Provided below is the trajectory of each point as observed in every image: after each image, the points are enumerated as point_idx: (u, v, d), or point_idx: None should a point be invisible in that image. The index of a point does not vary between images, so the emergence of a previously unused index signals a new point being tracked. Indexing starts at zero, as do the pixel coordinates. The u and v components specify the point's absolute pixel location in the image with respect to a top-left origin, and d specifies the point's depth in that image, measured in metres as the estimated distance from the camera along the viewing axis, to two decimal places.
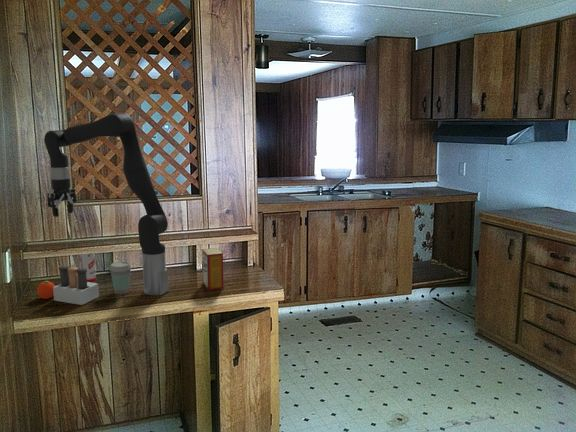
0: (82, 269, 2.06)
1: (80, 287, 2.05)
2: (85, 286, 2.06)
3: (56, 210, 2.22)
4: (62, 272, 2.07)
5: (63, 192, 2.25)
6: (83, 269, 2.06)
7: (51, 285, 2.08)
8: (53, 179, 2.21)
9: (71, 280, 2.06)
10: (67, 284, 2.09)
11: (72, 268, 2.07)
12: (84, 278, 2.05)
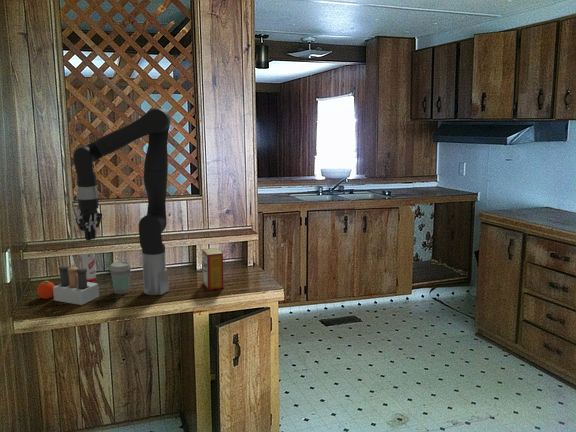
0: (82, 269, 2.06)
1: (80, 287, 2.05)
2: (85, 286, 2.06)
3: (89, 234, 2.09)
4: (62, 272, 2.07)
5: (90, 212, 2.08)
6: (83, 269, 2.06)
7: (51, 285, 2.08)
8: (80, 199, 2.04)
9: (71, 280, 2.06)
10: (67, 284, 2.09)
11: (72, 268, 2.07)
12: (84, 278, 2.05)
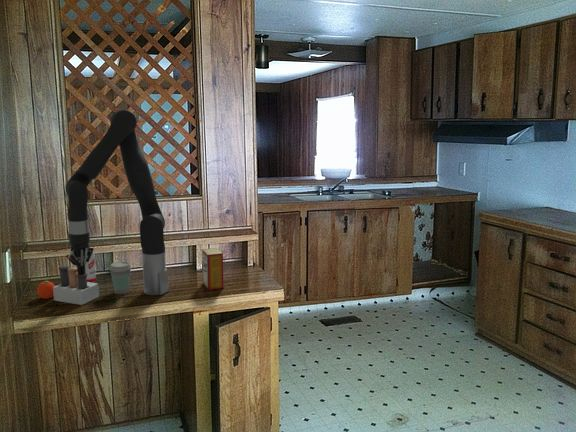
0: None
1: None
2: None
3: (81, 268, 2.04)
4: (62, 272, 2.07)
5: (81, 247, 2.03)
6: (83, 274, 2.06)
7: (51, 285, 2.08)
8: (71, 234, 1.99)
9: (71, 280, 2.06)
10: (67, 284, 2.09)
11: (72, 268, 2.07)
12: (84, 283, 2.06)
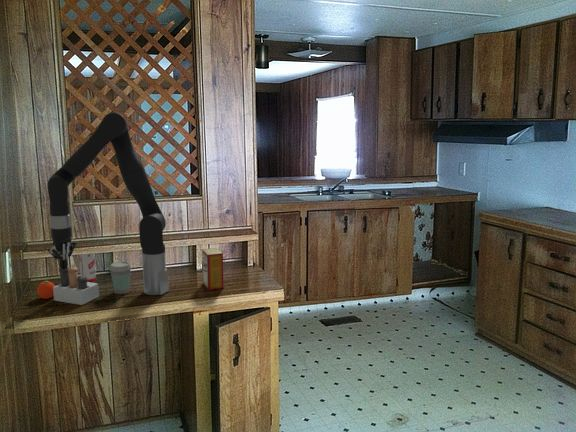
0: (83, 278, 2.07)
1: None
2: None
3: (63, 262, 2.07)
4: (62, 273, 2.07)
5: (63, 241, 2.05)
6: (84, 278, 2.07)
7: (51, 285, 2.08)
8: (53, 228, 2.02)
9: (71, 280, 2.06)
10: (67, 285, 2.09)
11: (72, 268, 2.07)
12: (85, 287, 2.06)
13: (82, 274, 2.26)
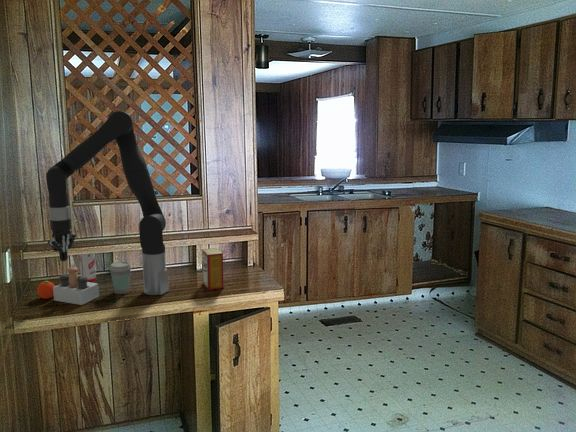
0: (83, 278, 2.07)
1: None
2: None
3: (63, 254, 2.06)
4: (63, 281, 2.08)
5: (63, 233, 2.05)
6: (84, 278, 2.07)
7: (51, 285, 2.08)
8: (52, 220, 2.01)
9: (71, 280, 2.06)
10: None
11: (72, 268, 2.07)
12: (85, 287, 2.06)
13: (82, 274, 2.26)
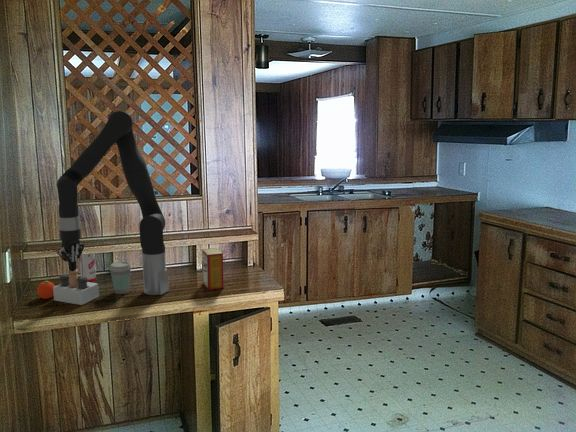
0: (83, 278, 2.07)
1: None
2: None
3: (72, 264, 2.05)
4: (63, 281, 2.08)
5: (72, 243, 2.04)
6: (84, 278, 2.07)
7: (51, 285, 2.08)
8: (62, 230, 2.00)
9: (71, 282, 2.06)
10: None
11: None
12: (85, 287, 2.06)
13: (82, 274, 2.26)
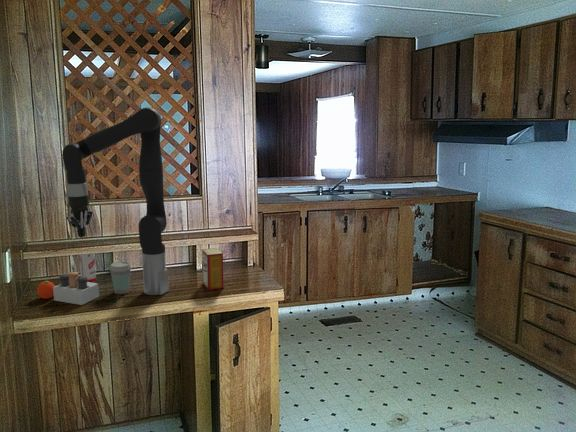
0: (83, 278, 2.07)
1: None
2: None
3: (81, 230, 2.09)
4: (63, 281, 2.08)
5: (81, 209, 2.08)
6: (84, 278, 2.07)
7: (51, 285, 2.08)
8: (70, 196, 2.04)
9: (72, 285, 2.07)
10: None
11: (72, 273, 2.07)
12: (85, 287, 2.06)
13: (82, 274, 2.26)
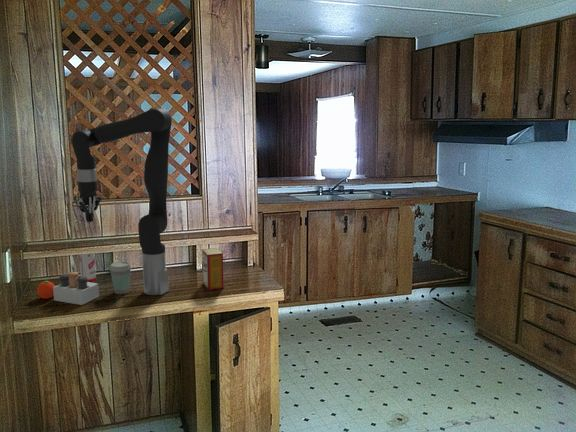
0: (83, 278, 2.07)
1: None
2: None
3: (90, 215, 2.14)
4: (63, 281, 2.08)
5: (89, 195, 2.13)
6: (84, 278, 2.07)
7: (51, 285, 2.08)
8: (80, 182, 2.09)
9: (72, 285, 2.07)
10: None
11: (72, 273, 2.07)
12: (85, 287, 2.06)
13: (82, 274, 2.26)
